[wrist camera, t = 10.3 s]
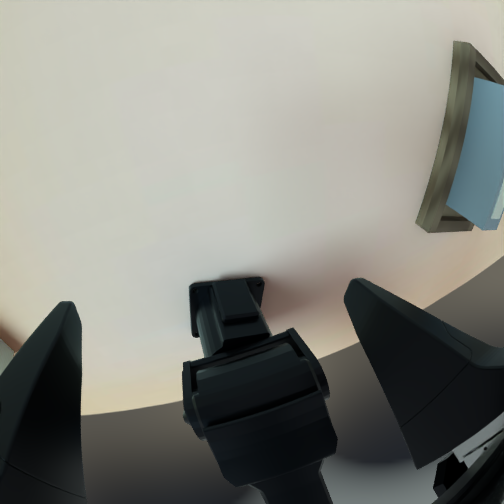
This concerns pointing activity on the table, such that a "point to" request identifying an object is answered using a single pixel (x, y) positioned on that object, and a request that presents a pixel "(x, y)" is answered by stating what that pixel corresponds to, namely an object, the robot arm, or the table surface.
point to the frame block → (482, 159)
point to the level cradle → (453, 140)
